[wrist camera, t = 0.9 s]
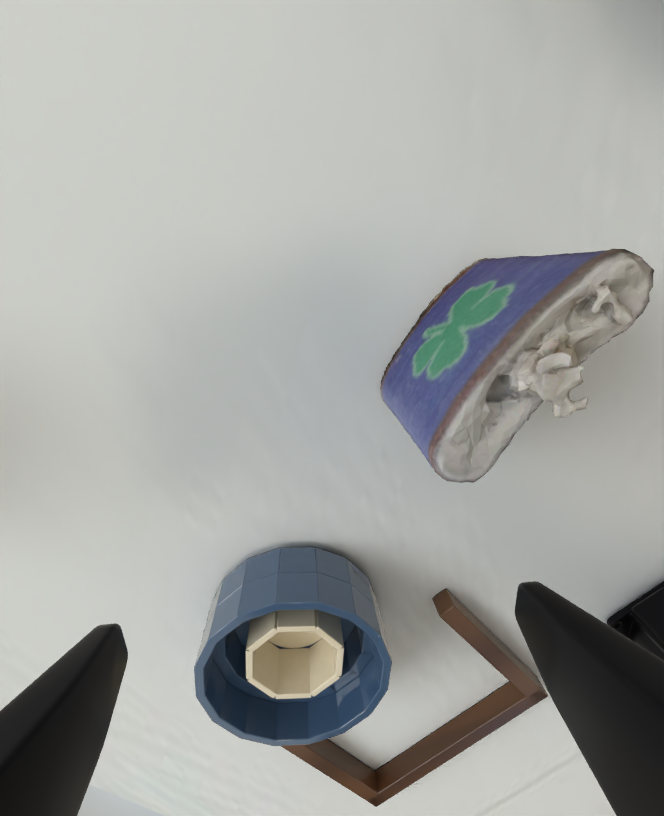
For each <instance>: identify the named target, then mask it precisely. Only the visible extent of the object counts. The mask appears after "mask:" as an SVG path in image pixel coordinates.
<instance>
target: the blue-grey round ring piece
mask: <svg viewBox="0 0 664 816" xmlns="http://www.w3.org/2000/svg"><path fill="white" fill-rule="evenodd" d="M315 609H316V610H320V611H323V612H326V613H329V614H332V615H335V616H339V617H340V619H341V627H342V635H343V643H344V656H343V667H342V676H340V678H339V679H338V680H337V681H335V682H334V683H332V684H331V685H330V686H328V687H327V688H326V689H324V690H323V691H321V692H320V693H319V694H317V695H316V696H315V697H313V696H312V695H311V698H294V699H276V697H274V698H272V697H270V696H269V695H267V694H266V693H264V692H263V691H261V690H260V689H258V688H257V687H255V686H254V685H252V684H251V683H249V682H248V681H247V680H248V679H246V645H247V638H248V631H249V624H250V620H251V619H254V618H257V617H260V616H263V615H266V614H269V613H272V612H275V611H278V610H315ZM320 640H321V639H320ZM269 642H270V641H269ZM317 642H318V641H317ZM317 642H316V643H317ZM272 644H273V643H272ZM314 644H315V643H314ZM314 644H312V645H309V646H306V647H301V648H310V647H311V646H313V645H314ZM273 645H275V644H273ZM275 646H276V647H278V648H279V649H291V648H285V647H280V646H277V645H275ZM391 664H392V660H391V656H390V652H389V648H388V643H387V639H386V635H385V631H384V628H383V623H382V619H381V615H380V611H379V606H378V602H377V599H376V597H375V594H374V592H373V589H372V587H371V584H370V582H369V579H368V577H367V576H366V575H365V574H364V573H362V572H361V571H360V570H359V569H358V568H357V567H356V566H355V565H353V564H352V563H351V562H350V561H349V560H348V559H347V558H345V557H342V556H339V555H336V554H333V553H330V552H328V551H325V550H322V549H319V548H314V547H292V548H277V549H274V550H272V551H269V552H266V553H263V554H260V555H257V556H254V557H251V558H249V559H247V560H246V561H244V562H243V563H242V564H241V565H240V566H238V567H237V568H236V569H235V570H234V571H232V572H231V573H230V574H229V575H228V576H226V577H225V578H224V579H223V581H222V583H221V585H220V587H219V589H218V591H217V593H216V595H215V597H214V599H213V601H212V604H211V607H210V611H209V615H208V618H207V622H206V626H205V629H204V633H203V637H202V640H201V644H200V648H199V652H198V655H197V659H196V663H195V666H194V674H195V689H196V697H197V699H198V700H199V702H200V703H201V705H202V706H203V708H204V709H205V711H206V712H207V714H208V715H209V717H210V718H211V720H212V721H213V722H214V723H216V724H218V725H219V726H221V727H223V728H224V729H226V730H227V731H229V732H231V733H232V734H234V735H236V736H237V737H239V738H241V739H245V740H250V741H254V742H258V743H263V744H267V745H272V746H285V745H305V744H312V743H315V742H318V741H321V740H325V739H328V738H331V737H334V736H337V735H340V734H343V733H345V732H346V731H348V730H349V729H350V728H352V727H353V726H355V725H356V724H358V723H359V722H361V721H362V720H363V719H365V718H366V717H368V716H369V715H370V714H371V713H372V712H373V710H374V709H375V708H376V706H377V705H378V703H379V702H380V700H381V699H382V697H383V696H384V695H385V693H386V692H387V690H388V685H389V678H390V671H391Z"/></svg>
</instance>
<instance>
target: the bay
mask: <svg viewBox="0 0 664 816" xmlns="http://www.w3.org/2000/svg"><path fill="white" fill-rule="evenodd" d="M433 601H434V604H435V606H436V609H437V611H438V613H439V616H440V617H441V618H442V619H443V620H444V621H445V622H446V623H448V624H449V625H450V626H451V627H452V628H453V629H454V630H455V631H456V632H457V633H458V634H459V635H460V636H462V637H463V638H464V639H465V640H466V641H467V642H468V643H469V644H470V645H471V646H472V647H473V648H475V649H476V650H477V651H478V652H479V653H480V654H481V655H482V656H483V657H484V658H485V659H486V660H487V661H489V662H490V663H491V664H492V665H493V666H494V667H495V668H496V669H497V670H498V671H499V672H500V673H502V674H503V675H504V676H505V677H506V678H507V679H508V680H509V681H510V682H508V683H507V684H505V685H504V686H502V687H501V688H499V689H498V690H496V691H495V692H493V693H492V694H490V695H489V696H487V697H486V698H484V699H483V700H481V701H480V702H478V703H477V704H475V705H474V706H472V707H471V708H469V709H468V710H466V711H465V712H463V713H462V714H460V715H459V716H457V717H456V718H454V719H453V720H451V721H450V722H448V723H447V724H445V725H444V726H442V727H441V728H439V729H438V730H436V731H435V732H433V733H432V734H430V735H429V736H427V737H426V738H424V739H423V740H421V741H420V742H418V743H417V744H415V745H414V746H412V747H411V748H409V749H408V750H406V751H405V752H403V753H402V754H400V755H399V756H397V757H396V758H394V759H392V760H391V761H389V762H388V763H386V764H385V765H383V766H382V767H380V768H379V769H377V770H376V771H374V770H372V769H371V768H369V767H368V766H366V765H365V764H363V763H362V762H360V761H359V760H357V759H356V758H354V757H353V756H351V755H350V754H348V753H347V752H345V751H344V750H342V749H341V748H340V747H338V746H337V745H335V744H334V743H332V742H331V741H329V740H328V739H325V740H321V741H318V742H315V743H312V744H305V745H285V746H281V747H283V748H285V749H286V750H288V751H289V752H291V753H292V754H294V755H296V756H297V757H299V758H300V759H302V760H304V761H305V762H307V763H308V764H310V765H311V766H313V767H315V768H316V769H318V770H319V771H321V772H322V773H324V774H326V775H327V776H329V777H330V778H332V779H333V780H335V781H337V782H338V783H340V784H341V785H343V786H345V787H346V788H348V789H349V790H351V791H352V792H354V793H356V794H357V795H359V796H360V797H362V798H363V799H365V800H367V801H368V802H370V803H371V804H373V805H374V806H376V807H377V806H378V805H380V804H381V803H383V802H385V801H386V800H388V799H389V798H391V797H392V796H394V795H395V794H397V793H399V792H400V791H402V790H403V789H405V788H406V787H408V786H409V785H411V784H412V783H414V782H416V781H417V780H419V779H420V778H422V777H423V776H425V775H426V774H428V773H430V772H431V771H433V770H434V769H436V768H437V767H439V766H440V765H442V764H443V763H445V762H447V761H448V760H450V759H451V758H453V757H454V756H456V755H457V754H459V753H461V752H462V751H464V750H465V749H467V748H468V747H470V746H471V745H473V744H474V743H476V742H478V741H479V740H481V739H482V738H484V737H485V736H487V735H488V734H490V733H492V732H493V731H495V730H496V729H498V728H499V727H501V726H502V725H504V724H505V723H507V722H509V721H510V720H512V719H513V718H515V717H516V716H518V715H519V714H521V713H523V712H524V711H526V710H527V709H529V708H530V707H532V706H533V705H535V704H537V703H538V702H540V701H541V700H543V699H544V698H546V697H548V694H547V693H546V691H545V689H544V688H543V686H542V684H541V683H540V681H539V679H538V678H537V676H536V675H535V674H534V673H533V672H532V671H530V670H529V669H528V668H527V667H526V666H525V665H524V664H523V663H522V662H521V661H520V660H519V659H518V658H517V657H516V656H515V655H514V654H513V653H512V652H511V651H510V650H509V649H508V648H507V647H506V646H505V645H504V644H503V643H502V642H501V641H500V640H498V639H497V638H496V637H495V636H494V635H493V634H492V633H491V632H490V631H489V630H488V629H487V628H486V627H485V626H484V625H483V624H482V623H481V622H480V621H479V620H478V619H477V618H476V617H475V616H474V615H473V614H472V613H471V612H470V611H469V610H468V609H466V608H465V607H464V606H463V605H462V604H461V603H460V602H459V601H458V600H457V599H456V598H455V597H454V596H453V595H452V594H451V593H450V592H449V591H448V590H447V589H445V590H443V591H442V592H441V593H439V594H438V595H437V596H435V597H434V598H433Z"/></svg>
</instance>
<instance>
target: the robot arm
mask: <svg viewBox="0 0 664 816" xmlns="http://www.w3.org/2000/svg"><path fill="white" fill-rule="evenodd" d="M515 616H516V620H517V622H518V625H519V627H520V629H521V631H522V634H523V636H524V638H525V640H526V643H527V645H528V647H529V649H530V652H531V654H532V656H533V659H534V661H535V663H536V665H537V668H538V670H539V672H540V674H541V677H542V679H543V681H544V683H545V685H546V687H547V690H548V692H549V694H550V696H551V698H552V699H553V701H554V703H555V705H556V707H557V709H558V711H559V712H560V714H561V716H562V718H563V720H564V721H565V723H566V725H567V727H568V729H569V730H570V732H571V734H572V736H573V738H574V739H575V741H576V743H577V745H578V747H579V749H580V750H581V752H582V754H583V756H584V758H585V759H586V761H587V763H588V765H589V767H590V768H591V770H592V772H593V774H594V776H595V777H596V779H597V781H598V783H599V785H600V787H601V788H602V790H603V792H604V794H605V796H606V797H607V799H608V801H609V803H610V805H611V806H612V808H613V810H614V812H615V814H616V815H617V816H664V582H663V583H661V584H660V585H658V586H657V587H655V588H654V589H652V590H651V591H649V592H648V593H646V594H645V595H643V596H642V597H640V598H639V599H637V600H636V601H634V602H633V603H631V604H630V605H628V606H627V607H625V608H624V609H622V610H621V611H619V612H618V613H616V614H615V615H613V616H611V617H610V618H609V619H608V621H607V624H608V625H606V624H605V623H603V622H602V621H600V620H598V619H597V618H595V617H594V616H592V615H590V614H589V613H587V612H586V611H584V610H583V609H581V608H579V607H578V606H576V605H575V604H573V603H571V602H570V601H568V600H567V599H565V598H563V597H562V596H560V595H559V594H557V593H555V592H554V591H552V590H551V589H549V588H548V587H546V586H544V585H543V584H541V583H539V582H535V581H534V582H524V583H520V584H519V586H518V591H517V598H516V605H515ZM127 659H128V652H127V647H126V644H125V640H124V637H123V633H122V630H121V627H120V626H119V625H118V624H106V625H100V626H97V627H96V628H94V629H93V630H92V631H91V632H90V633H89V634H88V635H86V636H85V637H84V638H83V639H82V640H81V641H80V642H78V643H77V644H76V645H75V646H74V647H73V648H72V649H70V650H69V651H68V652H67V653H66V654H65V655H64V656H62V657H61V658H60V659H59V660H58V661H57V662H56V663H54V664H53V665H52V666H51V667H50V668H49V669H48V670H46V671H45V672H44V673H43V674H42V675H41V676H40V677H39V678H37V679H36V680H35V681H34V682H33V683H32V684H31V685H29V686H28V687H27V688H26V689H25V690H24V691H23V692H21V693H20V694H19V695H18V696H17V697H16V698H15V699H13V700H12V701H11V702H10V703H9V704H8V705H7V706H5V707H4V708H3V709H2V710H1V711H0V816H77V814H78V811H79V809H80V806H81V804H82V801H83V798H84V796H85V793H86V791H87V788H88V785H89V783H90V780H91V777H92V775H93V772H94V770H95V767H96V764H97V762H98V759H99V756H100V753H101V750H102V748H103V745H104V741H105V738H106V735H107V732H108V728H109V724H110V721H111V717H112V714H113V710H114V707H115V703H116V700H117V696H118V693H119V689H120V685H121V682H122V678H123V675H124V671H125V668H126V664H127Z"/></svg>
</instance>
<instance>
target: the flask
mask: <svg viewBox="0 0 664 816" xmlns="http://www.w3.org/2000/svg"><path fill="white" fill-rule="evenodd" d="M653 273H654V270H653V269H652V268H651V267H650V266H649V265H648V264H647V263H646V262H645V261H644V260H643V259H642V257H640V256H638V255H636V254H634V253H632V252H630V251H627V250H625V249H611V250H608V251H598V252H586V253H573V254H559V255H546V256H519V257H509V258H500V259H495V258H492V259H488V258H484V259H481V260H478V261H476V262H474V263H473V264H472V265H471V266H469V267H467V268H466V269H464V270H463V271H461V272H460V274H459V275H457V277H455V279H454V280H453V281H451V283H449V284H448V285H446V286H445V287H444V288H443V291H442V292H441V293H440V294H438V295H437V296H436V297H435V299H433V300H432V301H431V302H430V304H429V306H428V307H427V309H426V310H424V311H423V312H422V314H421V315H420V318H419V319H418V321H417V323H416V324H415V325H414V327H412V329H411V331H410V332H409V333H408V335H407V336H406V338H405V339H404V341H403V342H402V343H401V346H400V347H399V349H398V350H397V351H396V352H395V354H394V355H393V358H392V360H391V361H390V363H389V364H388V366H387V367H386V371H385V372H384V376H383V377H382V380H381V388H380V389H381V396H382V399H383V401H384V402H385V403H386V405H387V406H388V407H389V408H390V410H391V411H392V412H393V413H394V415H395V416H396V417H397V418H398V420H399V421H400V423H401V424H402V425H403V427H404V428H405V430H406V431H407V432H408V433H409V435H410V436H411V438H412V439H413V441H414V442H415V443H416V445H417V446H418V447H419V448H420V450H421V451H422V453H423V454H424V456H425V457H426V459H427V460H428V462H429V463H430V465H431V466H432V468H433V469H434V470H435V472H436V473H437V474H439V475H440V476H441V477H442V478H443V479H445V480H447V481H452V482H460V483H462V482H475V481H477V480H478V479H480V478H481V477H482V476H484V475H485V474H486V473H487V472H488V471H489V470H490V469H491V467H492V466H493V465H494V464H495V462H496V461H497V459H498V457H499V456H500V454H501V453H502V452H503V451H504V449H505V448H506V447H507V446H508V445H509V443H510V442H511V440H512V438H513V436H514V435H515V434H516V432H517V431H518V430H519V429H520V428H521V426H522V425H523V424H524V423H525V422H526V421H527V420H528V419H529V417H530V415H531V414H532V413H533V412H534V411H535V410H536V409H537V408H538V406H539V405H540V404H541V403H542V402H543V401H545V402H546V401H550V402H552V404H553V405H554V406H553V413H554V415H555V416H556V417H567V416H568V415H570V414H571V413H573V412H574V411H576V410H581V409H585V407H586V405H587V402H588V398H587V397H585V398H582V399H580V400H578V401H576V402H574V401H572V400H570V398H569V392H570V390H571V389H572V388H574V387H576V386H578V385H580V384H581V383H582V382H583V381H582V377H581V370H582V369H584V367H580V366H579V367H578V365H580V364H581V363H582V362H584V361H585V360H586V359H587V357H588V356H589V355H590V354H591V353H593V352H594V351H595V350H596V349H597V348H599V347H601V346H602V345H604V344H606V343H607V342H609V341H610V339H611V338H613V337H615V336H617V335H618V334H620V333H622V332H624V331H626V330H627V329H628V328H629V327H630V326H631V325H632V324H633V323H634V321H635V320H636V319H637V318H638V317H639V316H640V315H641V314H642V313H643V311H644V310H645V308H646V306H647V304H648V303H649V292H650V290H651V288H652V287H653Z"/></svg>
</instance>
